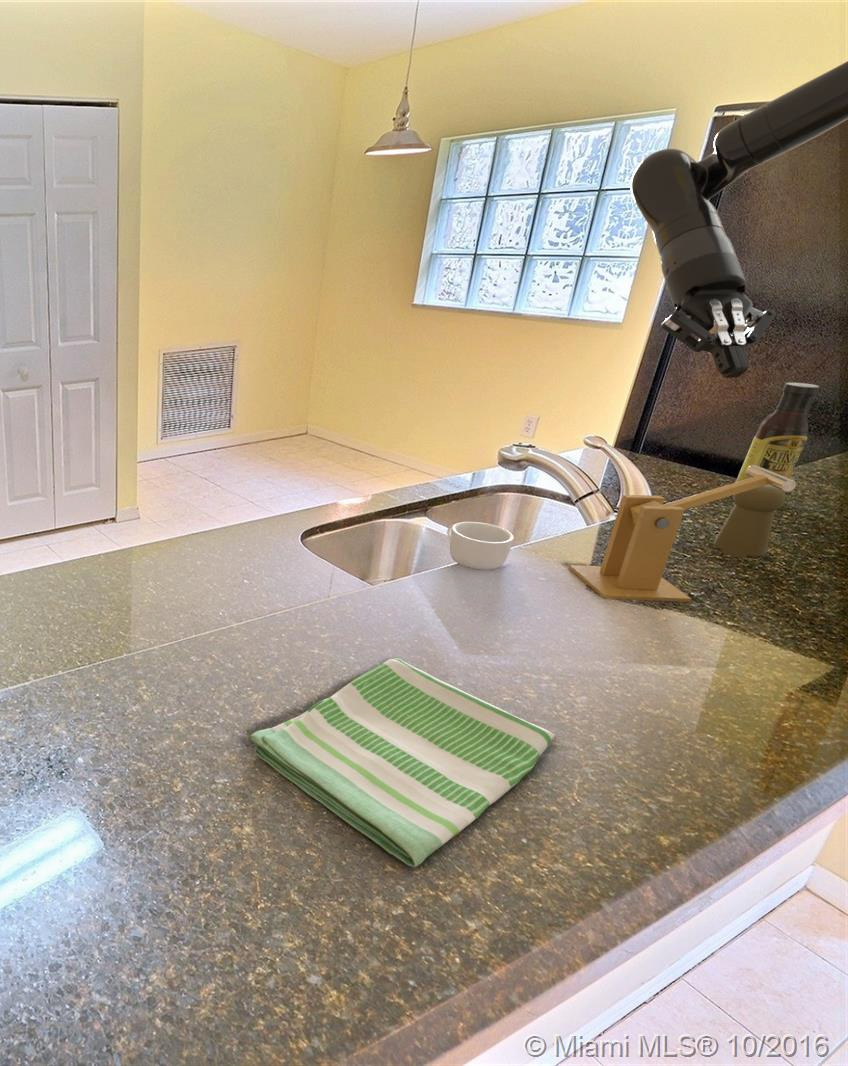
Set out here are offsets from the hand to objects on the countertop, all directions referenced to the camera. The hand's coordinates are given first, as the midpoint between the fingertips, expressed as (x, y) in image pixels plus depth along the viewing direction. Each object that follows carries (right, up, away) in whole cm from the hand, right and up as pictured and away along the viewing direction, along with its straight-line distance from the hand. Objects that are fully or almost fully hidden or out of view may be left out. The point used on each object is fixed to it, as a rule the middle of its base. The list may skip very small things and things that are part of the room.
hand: (736, 374), depth 92 cm
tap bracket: (-12, -29, +3) cm, 31 cm away
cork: (+11, -24, +11) cm, 29 cm away
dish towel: (-57, -42, -24) cm, 75 cm away
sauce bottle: (+34, -15, +31) cm, 49 cm away
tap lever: (-7, -17, -3) cm, 19 cm away
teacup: (-28, -25, +12) cm, 40 cm away
